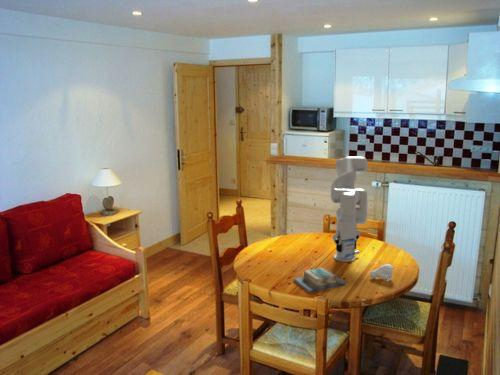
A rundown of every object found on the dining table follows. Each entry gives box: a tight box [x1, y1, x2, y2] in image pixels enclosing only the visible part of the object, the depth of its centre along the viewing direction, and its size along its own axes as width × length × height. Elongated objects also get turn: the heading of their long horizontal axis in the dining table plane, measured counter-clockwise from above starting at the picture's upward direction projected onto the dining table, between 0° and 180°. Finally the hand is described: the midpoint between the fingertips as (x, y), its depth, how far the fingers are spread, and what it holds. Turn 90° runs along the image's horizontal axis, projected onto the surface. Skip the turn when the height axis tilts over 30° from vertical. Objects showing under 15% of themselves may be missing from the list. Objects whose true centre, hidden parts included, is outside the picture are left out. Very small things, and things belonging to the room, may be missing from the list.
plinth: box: [293, 267, 347, 294], centre depth 240 cm, size 22×16×6 cm
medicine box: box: [338, 238, 356, 258], centre depth 232 cm, size 8×4×9 cm, turn 127°
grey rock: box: [369, 263, 394, 283], centre depth 244 cm, size 6×8×12 cm
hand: (346, 249), depth 232 cm, fingers closed on medicine box, 8 cm apart
